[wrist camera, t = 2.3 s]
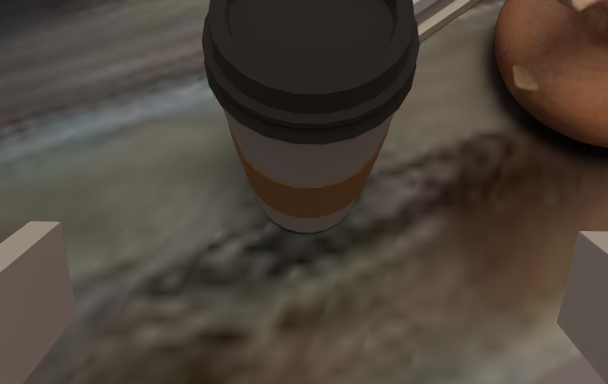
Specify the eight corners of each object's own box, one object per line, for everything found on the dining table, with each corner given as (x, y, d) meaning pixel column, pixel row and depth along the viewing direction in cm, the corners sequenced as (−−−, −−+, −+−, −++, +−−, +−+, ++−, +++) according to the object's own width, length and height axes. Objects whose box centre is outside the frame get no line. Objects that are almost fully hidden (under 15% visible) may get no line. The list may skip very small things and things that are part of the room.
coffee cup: (254, 125, 32) (221, -82, 19) (376, 141, 32) (434, -59, 18) (228, 241, 29) (164, 91, 15) (365, 260, 28) (426, 124, 15)
